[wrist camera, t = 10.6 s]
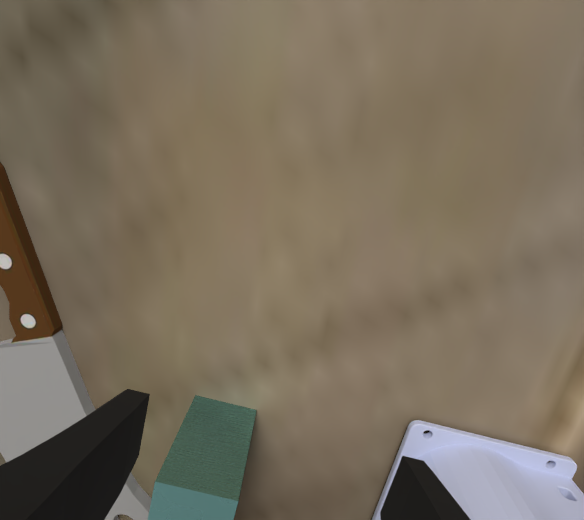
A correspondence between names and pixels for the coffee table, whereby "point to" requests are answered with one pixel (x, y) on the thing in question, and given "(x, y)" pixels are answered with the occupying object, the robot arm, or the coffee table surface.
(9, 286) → the kitchen cleaver
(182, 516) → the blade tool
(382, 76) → the coffee table surface
